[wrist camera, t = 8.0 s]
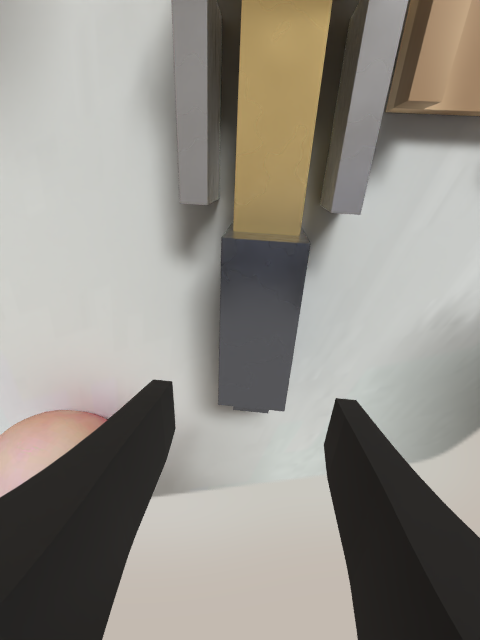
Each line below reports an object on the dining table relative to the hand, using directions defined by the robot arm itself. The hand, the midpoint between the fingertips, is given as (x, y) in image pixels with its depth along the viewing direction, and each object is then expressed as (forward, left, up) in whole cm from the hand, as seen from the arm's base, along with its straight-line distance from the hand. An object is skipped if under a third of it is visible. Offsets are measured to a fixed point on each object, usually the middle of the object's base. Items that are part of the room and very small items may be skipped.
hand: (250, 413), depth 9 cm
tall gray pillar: (0, 0, -10) cm, 10 cm away
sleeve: (0, -9, -9) cm, 13 cm away
